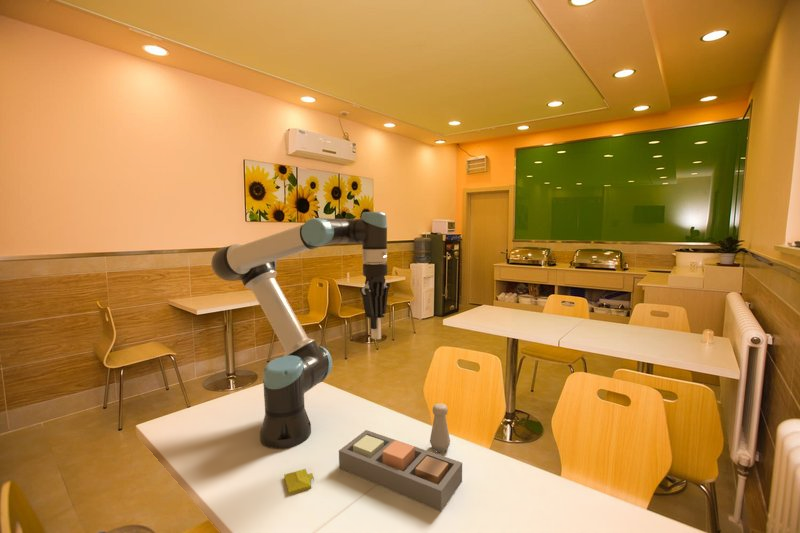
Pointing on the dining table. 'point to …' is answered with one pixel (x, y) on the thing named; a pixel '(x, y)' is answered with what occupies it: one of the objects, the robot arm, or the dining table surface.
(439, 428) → the salt shaker
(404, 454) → the terracotta key
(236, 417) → the dining table surface
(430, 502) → the key panel
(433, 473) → the walnut key
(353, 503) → the dining table surface
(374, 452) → the cream square block
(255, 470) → the dining table surface
